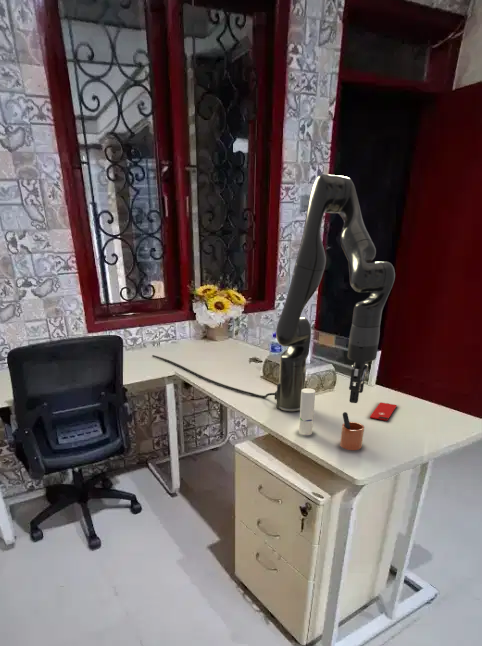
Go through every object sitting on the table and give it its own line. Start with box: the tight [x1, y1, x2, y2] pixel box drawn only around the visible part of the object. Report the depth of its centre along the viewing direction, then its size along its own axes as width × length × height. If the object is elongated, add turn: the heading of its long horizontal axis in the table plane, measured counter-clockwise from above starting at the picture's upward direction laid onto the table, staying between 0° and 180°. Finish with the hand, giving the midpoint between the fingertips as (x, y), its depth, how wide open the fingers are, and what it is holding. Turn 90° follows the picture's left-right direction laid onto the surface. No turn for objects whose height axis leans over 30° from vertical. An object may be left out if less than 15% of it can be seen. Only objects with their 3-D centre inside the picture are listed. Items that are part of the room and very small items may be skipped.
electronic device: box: [369, 402, 398, 422], centre depth 148 cm, size 6×1×15 cm
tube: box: [298, 387, 316, 436], centre depth 133 cm, size 4×4×15 cm
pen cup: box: [339, 421, 365, 451], centre depth 125 cm, size 6×6×7 cm
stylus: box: [342, 411, 351, 430], centre depth 124 cm, size 1×1×12 cm
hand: (356, 397), depth 120 cm, fingers open, 8 cm apart
